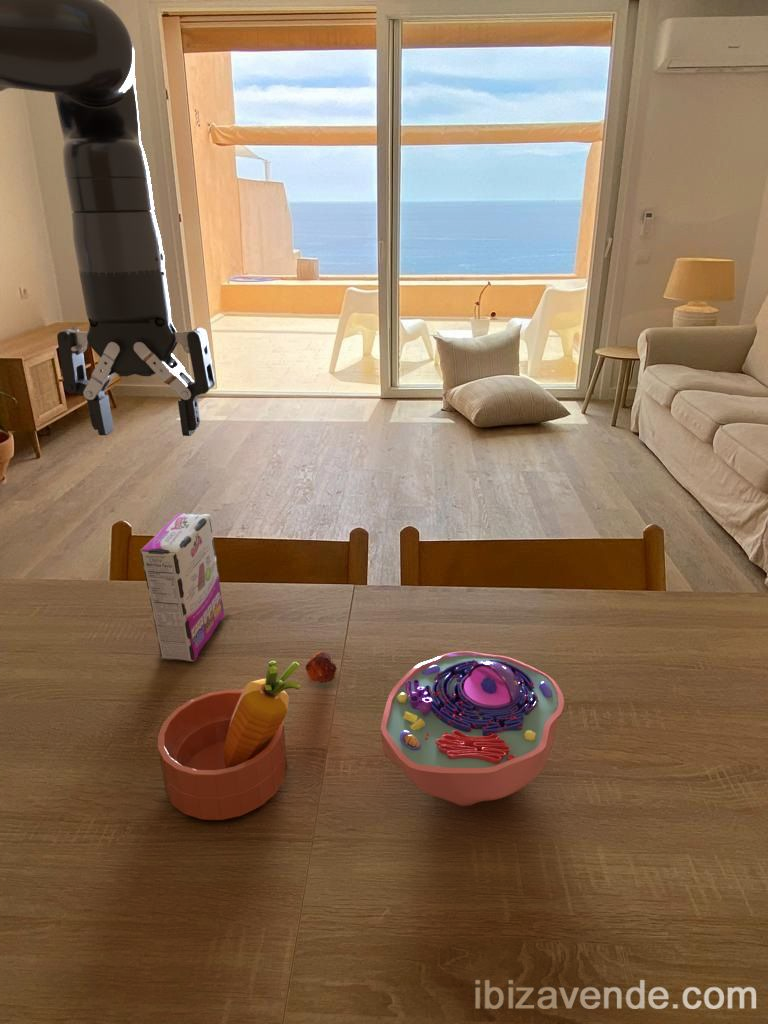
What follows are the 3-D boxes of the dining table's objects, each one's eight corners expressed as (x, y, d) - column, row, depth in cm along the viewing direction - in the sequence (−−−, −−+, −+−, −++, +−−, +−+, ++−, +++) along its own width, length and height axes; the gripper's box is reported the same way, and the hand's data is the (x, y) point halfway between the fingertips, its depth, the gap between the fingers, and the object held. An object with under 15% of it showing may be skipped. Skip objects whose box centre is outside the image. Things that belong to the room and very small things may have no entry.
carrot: (247, 751, 75) (301, 647, 69) (256, 791, 71) (314, 684, 65) (202, 750, 72) (254, 642, 66) (210, 791, 68) (265, 680, 63)
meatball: (303, 686, 85) (301, 659, 84) (318, 669, 88) (316, 643, 87) (328, 693, 84) (327, 666, 82) (343, 676, 87) (341, 650, 85)
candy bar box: (192, 614, 101) (177, 511, 94) (225, 617, 100) (212, 513, 93) (157, 660, 90) (138, 548, 84) (194, 664, 90) (177, 551, 83)
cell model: (343, 769, 73) (339, 681, 68) (475, 689, 84) (479, 609, 80) (459, 878, 61) (464, 781, 56) (593, 767, 73) (606, 679, 68)
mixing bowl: (149, 824, 67) (139, 773, 64) (187, 735, 78) (179, 688, 75) (275, 827, 66) (270, 776, 63) (295, 737, 77) (291, 690, 75)
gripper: (25, 269, 61) (62, 445, 67) (185, 268, 60) (207, 445, 67) (64, 262, 68) (94, 422, 74) (209, 261, 67) (226, 423, 74)
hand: (148, 433), depth 71 cm, fingers open, 8 cm apart
